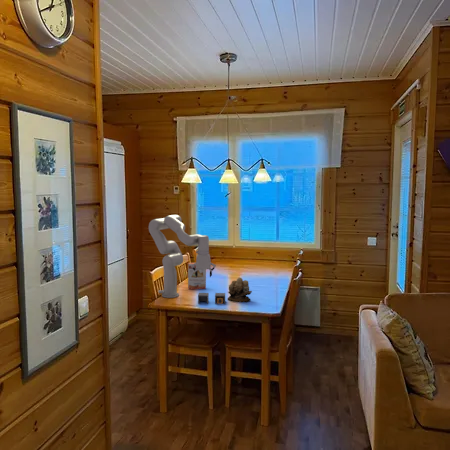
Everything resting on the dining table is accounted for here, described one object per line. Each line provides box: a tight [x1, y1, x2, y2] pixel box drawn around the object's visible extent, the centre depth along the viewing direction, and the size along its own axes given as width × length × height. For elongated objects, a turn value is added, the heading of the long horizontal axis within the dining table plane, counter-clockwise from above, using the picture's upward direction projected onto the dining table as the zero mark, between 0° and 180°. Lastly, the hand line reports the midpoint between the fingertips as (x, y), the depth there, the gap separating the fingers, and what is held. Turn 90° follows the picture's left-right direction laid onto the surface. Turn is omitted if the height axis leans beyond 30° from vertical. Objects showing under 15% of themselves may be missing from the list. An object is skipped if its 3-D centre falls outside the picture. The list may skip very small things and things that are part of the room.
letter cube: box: [216, 297, 224, 305], centre depth 291 cm, size 4×4×4 cm
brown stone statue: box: [227, 276, 253, 303], centre depth 298 cm, size 18×12×17 cm, turn 75°
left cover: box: [197, 292, 210, 305], centre depth 292 cm, size 7×7×6 cm
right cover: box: [214, 292, 226, 305], centre depth 292 cm, size 7×7×6 cm
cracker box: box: [187, 262, 207, 290], centre depth 330 cm, size 14×6×21 cm, turn 101°
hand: (203, 276), depth 291 cm, fingers open, 9 cm apart
